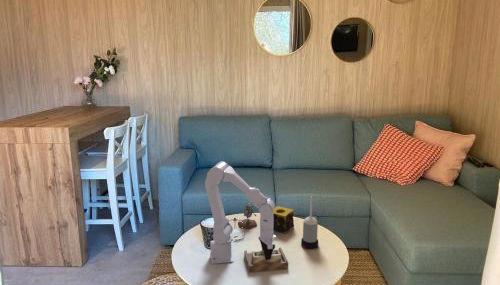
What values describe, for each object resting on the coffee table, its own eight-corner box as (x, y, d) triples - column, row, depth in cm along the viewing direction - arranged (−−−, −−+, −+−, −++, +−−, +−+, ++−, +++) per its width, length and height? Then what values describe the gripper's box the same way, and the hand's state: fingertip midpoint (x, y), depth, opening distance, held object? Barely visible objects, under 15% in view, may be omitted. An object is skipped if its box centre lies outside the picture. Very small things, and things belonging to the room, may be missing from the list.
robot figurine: (245, 231, 196) (244, 209, 193) (233, 225, 203) (233, 204, 200) (260, 224, 203) (260, 203, 200) (249, 219, 210) (249, 198, 207)
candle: (294, 227, 200) (294, 209, 198) (285, 234, 192) (285, 216, 190) (277, 222, 206) (277, 205, 203) (268, 229, 197) (268, 212, 195)
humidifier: (300, 248, 178) (301, 198, 172) (302, 240, 186) (303, 192, 180) (317, 250, 176) (319, 200, 171) (318, 242, 184) (321, 194, 178)
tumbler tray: (253, 265, 161) (253, 257, 160) (251, 259, 166) (251, 251, 165) (281, 263, 163) (281, 254, 162) (278, 257, 168) (278, 249, 167)
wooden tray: (249, 272, 159) (249, 266, 158) (244, 256, 171) (244, 250, 170) (288, 268, 161) (288, 262, 161) (280, 253, 174) (280, 247, 173)
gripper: (280, 234, 154) (279, 264, 157) (272, 219, 168) (271, 246, 171) (263, 235, 153) (262, 265, 156) (256, 220, 167) (256, 248, 170)
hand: (266, 255), depth 164 cm, fingers closed on tumbler tray, 5 cm apart
